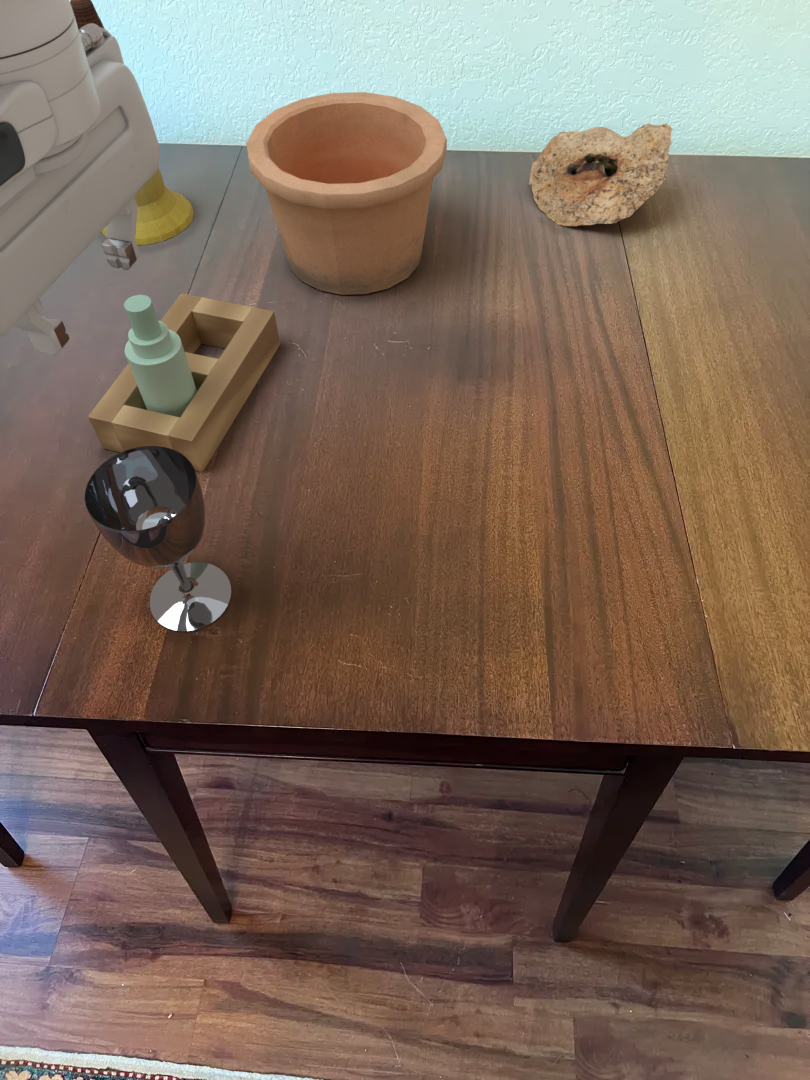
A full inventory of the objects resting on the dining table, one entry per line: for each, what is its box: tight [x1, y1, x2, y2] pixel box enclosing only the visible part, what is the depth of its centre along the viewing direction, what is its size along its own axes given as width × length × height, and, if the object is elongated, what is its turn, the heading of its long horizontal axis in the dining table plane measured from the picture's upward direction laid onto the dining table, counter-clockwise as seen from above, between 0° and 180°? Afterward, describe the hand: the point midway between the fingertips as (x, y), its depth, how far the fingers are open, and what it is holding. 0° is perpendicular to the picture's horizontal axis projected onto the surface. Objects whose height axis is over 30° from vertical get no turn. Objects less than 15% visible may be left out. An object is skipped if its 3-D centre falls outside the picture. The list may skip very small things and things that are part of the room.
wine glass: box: [84, 446, 233, 633], centre depth 62 cm, size 8×8×15 cm
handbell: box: [69, 0, 195, 246], centre depth 92 cm, size 12×12×25 cm
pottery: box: [245, 91, 448, 296], centre depth 91 cm, size 22×22×14 cm
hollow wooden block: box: [87, 292, 281, 473], centre depth 81 cm, size 11×20×4 cm, turn 163°
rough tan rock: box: [528, 123, 673, 227], centre depth 101 cm, size 18×14×8 cm
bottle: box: [123, 294, 197, 417], centre depth 74 cm, size 5×5×15 cm
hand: (91, 303), depth 53 cm, fingers open, 8 cm apart
